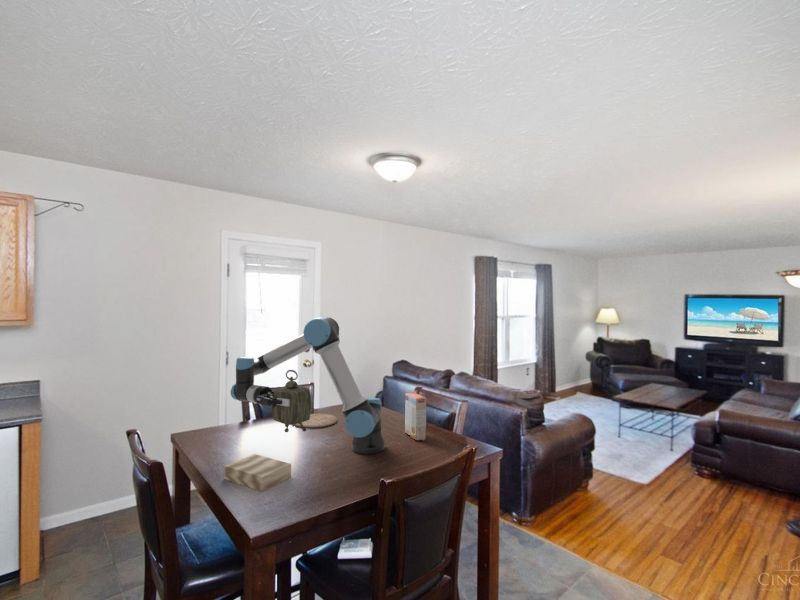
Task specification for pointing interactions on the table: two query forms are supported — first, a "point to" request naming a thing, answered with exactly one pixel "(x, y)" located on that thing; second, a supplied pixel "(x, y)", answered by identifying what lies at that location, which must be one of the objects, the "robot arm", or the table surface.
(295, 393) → the tabletop clock
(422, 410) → the cracker box
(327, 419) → the trivet
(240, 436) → the table surface
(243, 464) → the maple base
